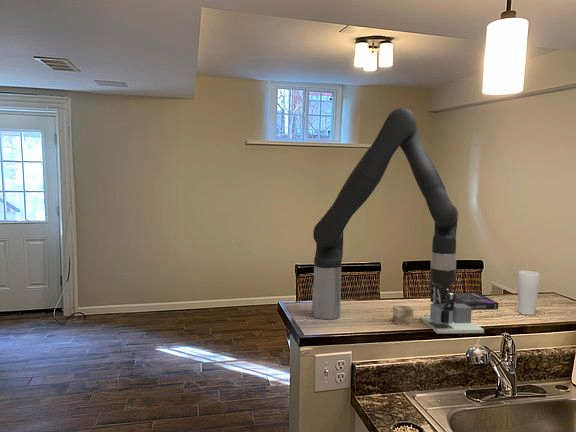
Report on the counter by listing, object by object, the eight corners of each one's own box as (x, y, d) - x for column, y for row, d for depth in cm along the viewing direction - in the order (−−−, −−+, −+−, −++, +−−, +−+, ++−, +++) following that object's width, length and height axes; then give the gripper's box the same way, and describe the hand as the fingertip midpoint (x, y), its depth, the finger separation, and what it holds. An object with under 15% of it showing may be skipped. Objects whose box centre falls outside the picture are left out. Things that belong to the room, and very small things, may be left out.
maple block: (397, 325, 144) (398, 310, 144) (392, 320, 149) (393, 305, 149) (412, 325, 145) (413, 309, 144) (407, 320, 150) (408, 305, 149)
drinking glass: (536, 312, 160) (539, 271, 159) (538, 317, 154) (540, 275, 153) (515, 310, 163) (517, 269, 162) (516, 315, 157) (518, 273, 156)
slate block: (436, 324, 138) (437, 308, 138) (430, 319, 143) (430, 303, 143) (452, 323, 139) (452, 308, 138) (445, 318, 144) (445, 303, 143)
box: (448, 312, 162) (498, 311, 164) (448, 303, 161) (499, 301, 164) (431, 301, 176) (478, 300, 178) (431, 293, 175) (479, 291, 177)
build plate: (437, 333, 136) (437, 314, 136) (419, 319, 150) (420, 301, 150) (484, 332, 138) (485, 313, 137) (462, 318, 152) (463, 301, 151)
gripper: (422, 262, 146) (420, 313, 148) (441, 271, 132) (438, 327, 134) (444, 262, 147) (442, 313, 148) (465, 271, 133) (463, 327, 134)
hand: (440, 319), depth 141 cm, fingers closed on slate block, 5 cm apart
